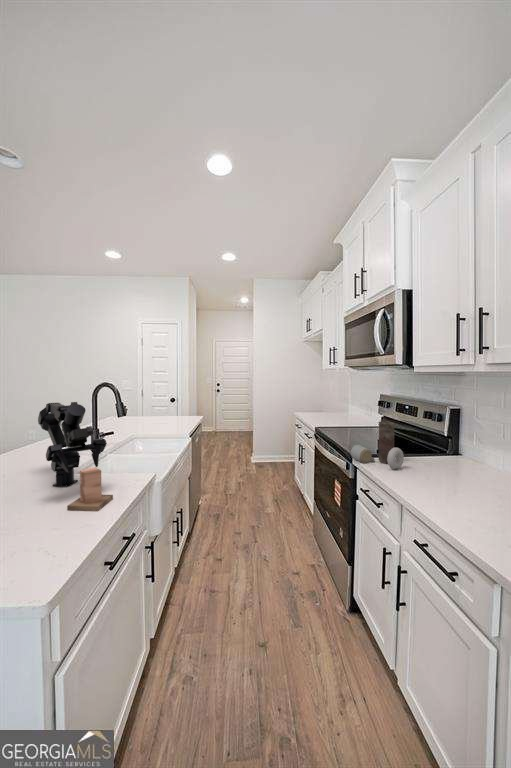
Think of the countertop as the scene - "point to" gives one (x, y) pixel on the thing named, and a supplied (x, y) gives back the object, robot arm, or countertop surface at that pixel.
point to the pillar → (90, 485)
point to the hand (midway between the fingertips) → (83, 469)
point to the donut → (394, 454)
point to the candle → (385, 440)
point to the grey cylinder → (361, 454)
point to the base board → (94, 506)
